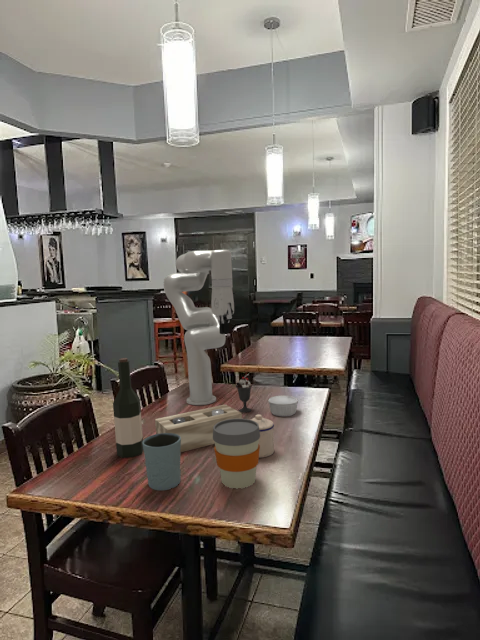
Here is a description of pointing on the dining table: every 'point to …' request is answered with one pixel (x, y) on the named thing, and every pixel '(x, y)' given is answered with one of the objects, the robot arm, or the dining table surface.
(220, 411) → the steel peg
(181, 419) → the graphite peg
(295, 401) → the ramekin
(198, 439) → the birch block
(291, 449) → the dining table surface
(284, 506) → the dining table surface
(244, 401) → the sundae
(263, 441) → the teacup with lid
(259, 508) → the dining table surface
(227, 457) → the reusable coffee cup
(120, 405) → the wine bottle
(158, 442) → the blue cup
